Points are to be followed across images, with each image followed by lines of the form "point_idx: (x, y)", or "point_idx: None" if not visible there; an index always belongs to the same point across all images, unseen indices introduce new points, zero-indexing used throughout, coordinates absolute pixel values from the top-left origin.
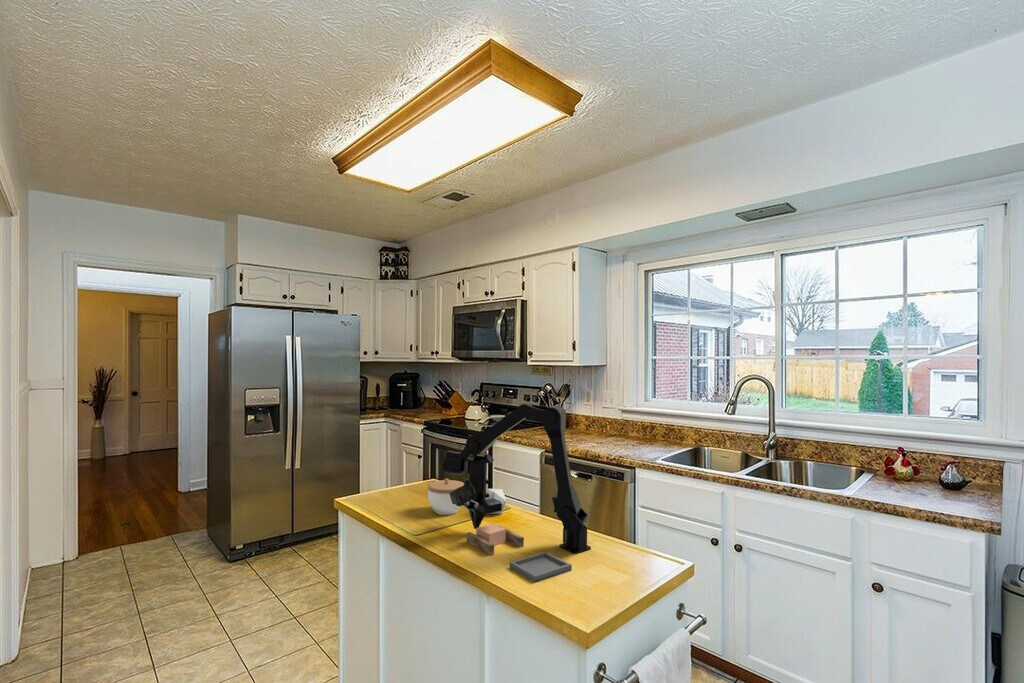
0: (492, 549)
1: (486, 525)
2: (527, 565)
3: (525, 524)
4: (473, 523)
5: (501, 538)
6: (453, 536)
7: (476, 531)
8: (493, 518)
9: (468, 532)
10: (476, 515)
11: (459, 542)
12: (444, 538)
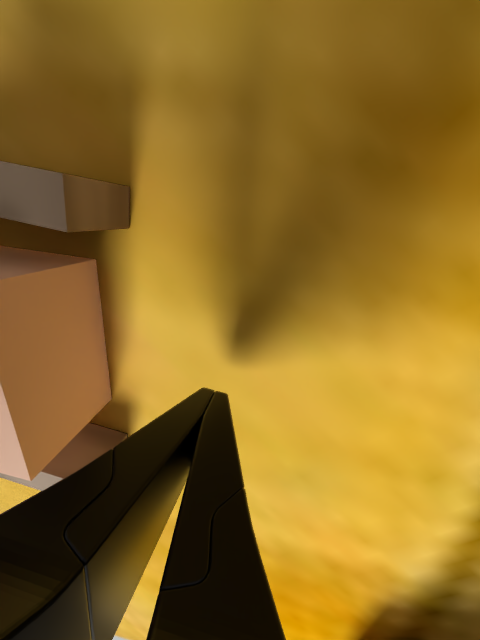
0: None
1: (7, 418)
2: None
3: (154, 588)
4: (208, 420)
5: None
6: (325, 184)
7: (12, 275)
8: (339, 604)
9: (59, 199)
10: (16, 511)
11: (152, 110)
12: (371, 35)
